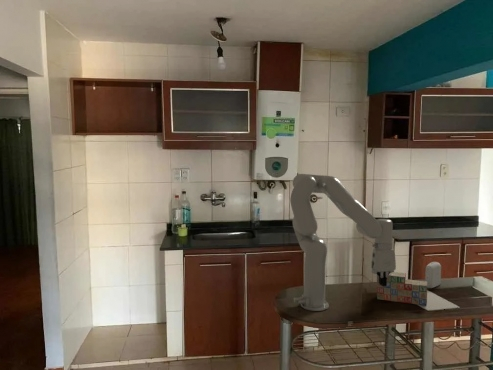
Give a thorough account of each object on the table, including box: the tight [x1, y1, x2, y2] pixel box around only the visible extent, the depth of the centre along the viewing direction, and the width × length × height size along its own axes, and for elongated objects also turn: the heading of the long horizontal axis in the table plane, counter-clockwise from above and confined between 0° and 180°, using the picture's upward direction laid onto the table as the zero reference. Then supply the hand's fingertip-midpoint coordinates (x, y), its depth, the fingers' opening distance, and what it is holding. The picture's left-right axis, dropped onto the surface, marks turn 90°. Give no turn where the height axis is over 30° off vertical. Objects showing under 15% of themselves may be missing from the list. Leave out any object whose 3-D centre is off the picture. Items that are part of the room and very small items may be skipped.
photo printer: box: [424, 261, 442, 289], centre depth 195 cm, size 10×4×12 cm, turn 127°
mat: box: [416, 289, 461, 312], centre depth 178 cm, size 16×26×1 cm, turn 11°
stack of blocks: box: [376, 271, 428, 306], centre depth 175 cm, size 21×6×12 cm, turn 62°
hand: (382, 285), depth 173 cm, fingers closed
